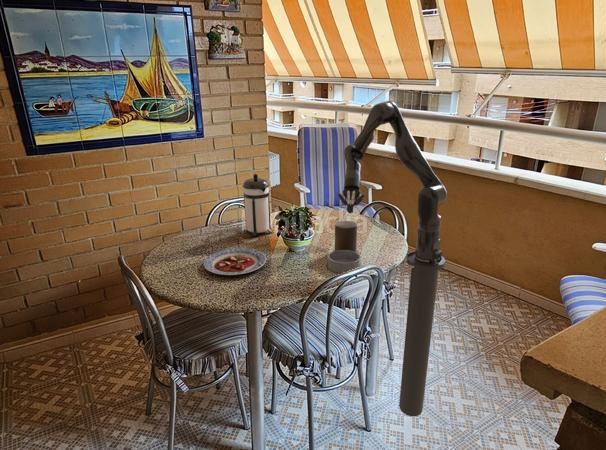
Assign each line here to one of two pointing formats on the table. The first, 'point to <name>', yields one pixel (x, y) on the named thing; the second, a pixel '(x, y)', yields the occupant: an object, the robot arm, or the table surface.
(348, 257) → the pan
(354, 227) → the pillar candle
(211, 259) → the ceramic plate
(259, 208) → the coffee press
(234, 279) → the table surface
